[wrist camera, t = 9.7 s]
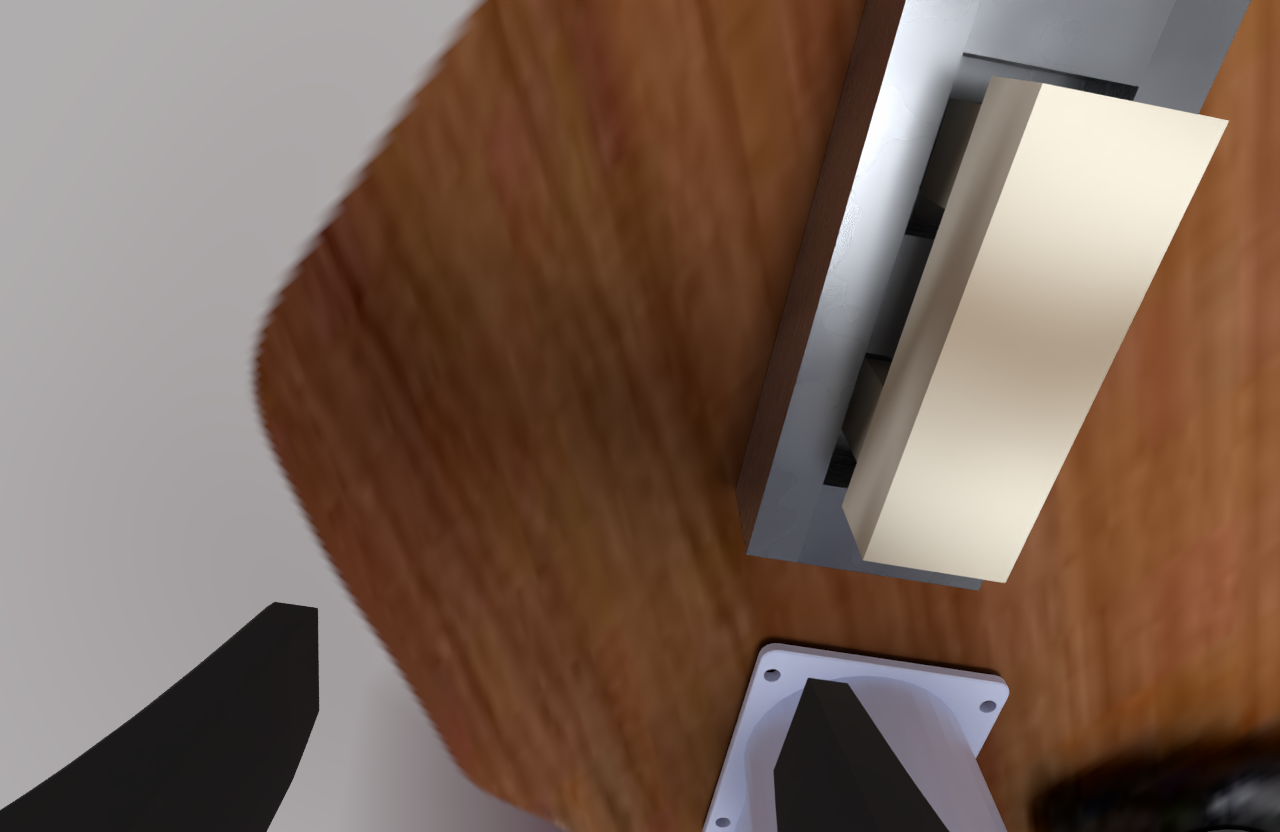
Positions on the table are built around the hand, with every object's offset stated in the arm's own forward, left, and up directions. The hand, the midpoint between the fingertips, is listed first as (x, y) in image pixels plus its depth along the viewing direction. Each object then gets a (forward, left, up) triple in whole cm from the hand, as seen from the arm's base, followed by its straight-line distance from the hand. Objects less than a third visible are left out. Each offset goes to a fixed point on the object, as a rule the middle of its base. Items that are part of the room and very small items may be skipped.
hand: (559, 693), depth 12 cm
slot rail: (+5, -7, -10) cm, 13 cm away
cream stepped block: (+5, -7, -9) cm, 13 cm away
